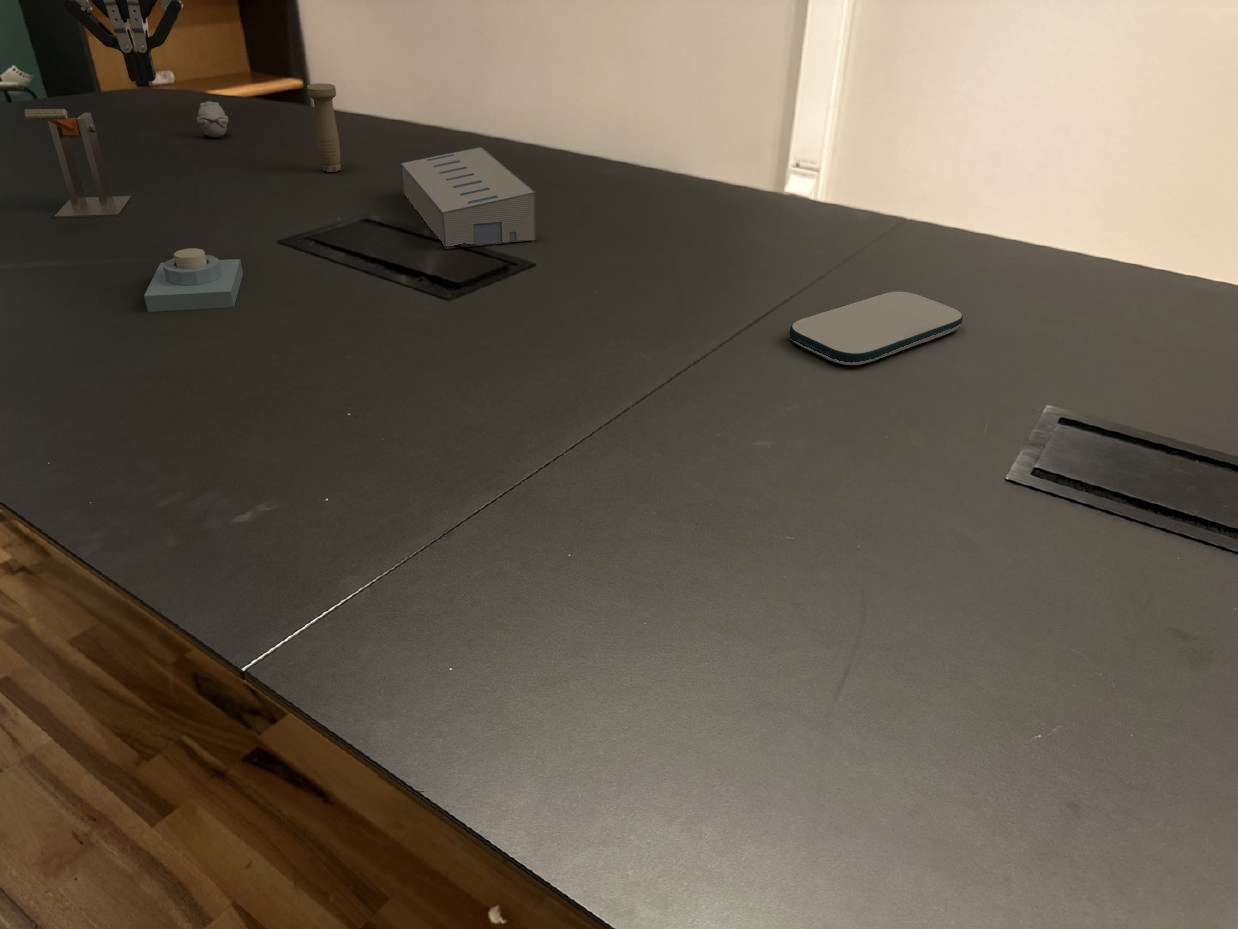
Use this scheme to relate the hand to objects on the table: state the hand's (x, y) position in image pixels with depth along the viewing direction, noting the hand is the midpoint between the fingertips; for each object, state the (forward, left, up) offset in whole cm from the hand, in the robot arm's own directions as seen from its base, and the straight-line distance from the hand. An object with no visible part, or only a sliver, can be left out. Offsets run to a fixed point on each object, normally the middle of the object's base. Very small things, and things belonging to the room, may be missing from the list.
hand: (145, 85), depth 109 cm
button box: (+2, -7, -24) cm, 25 cm away
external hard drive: (+85, -35, -24) cm, 95 cm away
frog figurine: (-6, +84, -24) cm, 88 cm away
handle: (+18, +53, -24) cm, 61 cm away
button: (+2, -7, -21) cm, 22 cm away
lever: (-18, +26, -10) cm, 33 cm away
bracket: (-18, +31, -24) cm, 43 cm away
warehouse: (+40, +21, -24) cm, 51 cm away
